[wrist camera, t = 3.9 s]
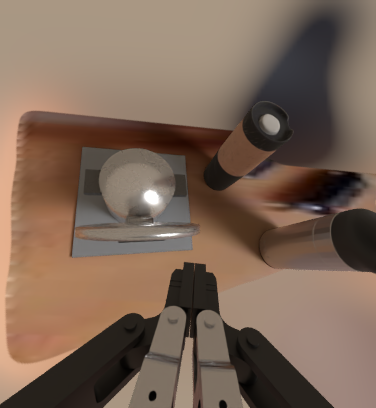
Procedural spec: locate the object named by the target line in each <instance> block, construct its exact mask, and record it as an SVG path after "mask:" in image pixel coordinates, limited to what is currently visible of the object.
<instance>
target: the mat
mask: <svg viewBox="0 0 376 408" xmlns="http://www.w3.org/2000/svg"><path fill="white" fill-rule="evenodd" d="M119 151H122V150H113V149H101V148H90V147H82V156H81V167H80V177H79V187H78V198H77V208H76V219H75V227H78V226H83V225H90V224H102V223H119V222H118V221H117V220H116V219H115V218H114V217H113V216H112V215H111V213H110V212H109V210H108V208H107V205H106V203H105V200H104V198H103V195H84V193H83V192H84V180H85V169H92V170H101V169H102V167H103V165H104V163H105V162H106V161H107V160H108V159H109V158H110V157H111V156H112V155H114V154H115V153H117V152H119ZM156 154H158V155H159V156H161V157H162V158H163V159H164V160H165V161H166V162H167V163H168V164H169V166H170V167H171V169H172V171H173V173H174V174H181V175H185V177H186V189H187V196H186V197H172V199H171V201H170V202H169V204H168V205H167V207H166V209H165V210H164V212H163V213H162V215H161V216H160V217H159V218H158V219H157V220H156V221H155V222H184V223H190V211H189V199H188V186H187V174H186V162H185V156H182V155H171V154H159V153H156ZM181 250H193V248H192V236H189V237H184V238H176V239H167V240H165V241H149V242H128V243H118V241H93V240H84V239H79V238H76V237H75V229H74V240H73V250H72V258H74V257H89V256H104V255H120V254H135V253H151V252H166V251H181Z"/></svg>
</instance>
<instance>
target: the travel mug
mask: <svg viewBox="0 0 376 408" xmlns="http://www.w3.org/2000/svg"><path fill="white" fill-rule="evenodd" d="M288 118H289V117H288V115H287V113H286V112H285V111H284V110H283V109H282V108H281V107H279V106H278V105H276V104H274V103H272V102H268V101H261V102H258V103H256V104H255V105H254V106H253V107H252V108H251V109H250V111H249V112H248V113H247V115H246V116H245V117H244V118H243V120H242V121H241V122H240V123H239V125H238V126H237V127H236V128H235V130H234V131H233V132H232V133H231V135H230V136H229V137H228V139H227V140H226V141H225V142H224V144H223V145H222V146H221V147H220V149H219V150H218V152H217V153H216V155H215V156H214V157H213V159H212V160H211V162H210V163H209V164H208V166H207V167H206V169H205V171H204V179H205V182H206V183H207V185H208V186H209V187H210V188H212V189H214V190H219V191H220V190H224V189H226V188H228V187H229V186H230V185H232V184H233V183H235V182H236V181H237V180H239V179H240V178H242V177H243V176H244V175H246V174H247V173H248V172H250V171H251V170H252V169H253V168H255V167H256V166H257V165H258V164H260V163H261V162H262V161H263V160H265V159H266V158H267V157H268V156H270V155H271V154H272V153H273V152H274V151H276V150H277V149H278V148H279V147H281V146H282V145H283V144H284V143H286V142H287V141H288V140H289V139H290V138H291V136H292V134H293V130H291V129H290V127H289V124H288Z"/></svg>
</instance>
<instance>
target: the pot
mask: <svg viewBox="0 0 376 408" xmlns="http://www.w3.org/2000/svg"><path fill="white" fill-rule="evenodd" d="M83 193H84V195H103V198H104V200H105V203H106V205H107V208H108V210H109V212H110V213H111V215H112V216H113V217H114V218H115V219H116V220H117V221H118V222H126V218H153V220H154V222H155V221H156V220H157V219H158V218H159V217H160V216H161V215H162V213H163V212H164V210H165V209H166V207H167V205H168V204H169V202H170V201H171V199H172V197H186V196H187V189H186V177H185V175H181V174H174V173H173V171H172V169H171V167H170V166H169V164H168V163H167V162H166V161H165V160H164V159H163V158H162V157H161V156H159V155H158V154H156V153H154V152H152V151H149V150H146V149H140V148H131V149H125V150H122V151H119V152H117V153H115V154H114V155H112V156H111V157H110V158H109V159H108V160H107V161H106V162H105V163H104V165H103V167H102V169H101V170H92V169H85V180H84V192H83Z"/></svg>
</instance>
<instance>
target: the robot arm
mask: <svg viewBox="0 0 376 408" xmlns="http://www.w3.org/2000/svg"><path fill="white" fill-rule="evenodd" d="M259 247H260V252H261V255H262V257H263V259H264V261H265V262H266V263H267V264H268V265H269V266H271V267H273V268H275V269H293V270H294V269H295V270H326V271H327V270H328V271H361V272H372V273H376V213H375V212H373V211H370V210H367V209H352V210H348V211H344V212H340V213H336V214H332V215H328V216H324V217H320V218H316V219H312V220H308V221H304V222H300V223H296V224H292V225H288V226H283V227H279V228H275V229H271V230H268V231H266V232H265V233H264V234H263V235H262V237H261V239H260V244H259ZM190 320H191V323H190ZM190 325H191V326H190ZM189 327H190V328H189ZM189 329H190V338H193V351H192V368H193V408H243V404H242V399H241V395H242V397H243V398H244V400H245V401H246V403H247V404H248V405H249V407H250V408H334V407H333V406H332V405H331V404H330V403H329V402H328V401H327V400H326V399H325V398H324V397H323V396H322V395H321V394H320V393H319V392H318V391H317V390H316V389H315V388H314V387H313V386H312V385H311V384H310V383H309V382H308V381H307V380H306V379H305V378H304V377H303V376H302V375H301V374H300V373H299V372H298V371H297V370H296V369H295V368H294V367H293V365H291V363H289V361H287V359H285V357H284V356H283V355H282V354H281V353H280V352H279V351H278V350H277V349H276V348H275V347H274V346H273V345H272V344H271V343H270V342H269V341H268V340H267V339H266V338H265V337H264V336H263V335H262V334H261V333H260V332H259V331H257V330H255V329H253V328H249V327H247V328H243V329H241V330H240V331H239V330H237V329H235V328H232V327H230V326H229V325H227V324H226V323H225V322H224V321H223V320H222V318H221V316H220V312H219V303H218V292H217V282H216V278H215V276H214V274H213V273H209V272H206V264H197V263H195V270H194V263H188V262H184V268H183V270H181V269H175V271H174V272H173V273H172V275H171V280H170V285H169V290H168V294H167V299H166V304H165V308H164V310H163V311H162V312H161V313H160V314H159V315H157V316H155V317H152V318H148V319H144V318H143V317H142V316H141V315H139V314H136V313H130V314H127V315H125V316H123V317H122V318H121V319H119V320H118V321H116V322H115V323H114V324H112V325H111V326H109V327H108V328H107V329H105V330H104V331H102V332H101V333H100V334H98V335H97V336H95V337H94V338H93V339H91V340H90V341H88V342H87V343H86V344H84V345H83V346H81V347H80V348H79V349H77V350H76V351H74V352H73V353H72V354H70V355H69V356H67V357H66V358H65V359H63V360H62V361H60V362H59V363H58V364H56V365H55V366H53V367H52V368H51V369H49V370H48V371H46V372H45V373H44V374H42V375H41V376H39V377H38V378H37V379H35V380H34V381H33V382H31V383H30V384H28V385H27V386H25V387H24V388H23V389H21V390H20V391H18V392H17V393H16V394H14V395H13V396H11V397H10V398H9V399H7V400H6V401H4V402H3V403H2V404H0V408H103V407H104V406H105V405H106V404H107V403H108V402H109V401H110V400H111V399H112V398H113V397H114V396H115V395H116V394H117V393H118V392H119V391H120V390H121V389H122V388H123V387H124V386H125V385H126V384H127V383H128V382H129V381H130V380H131V379H132V378H133V377H134V376H135V375H136V374H137V373H138V372H139V371H140V373H139V376H138V380H137V382H136V386H135V389H134V392H133V395H132V398H131V401H130V404H129V408H174V407H175V399H176V392H177V386H178V379H179V373H180V366H181V360H182V354H183V350H184V346H185V337H189ZM240 394H241V395H240Z"/></svg>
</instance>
